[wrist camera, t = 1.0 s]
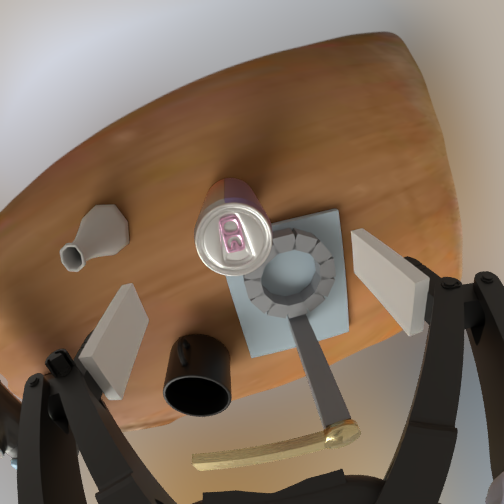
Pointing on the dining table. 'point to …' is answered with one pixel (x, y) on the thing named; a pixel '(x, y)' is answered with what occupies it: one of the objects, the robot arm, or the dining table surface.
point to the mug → (198, 376)
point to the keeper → (280, 448)
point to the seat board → (292, 282)
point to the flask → (96, 237)
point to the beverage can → (232, 229)
